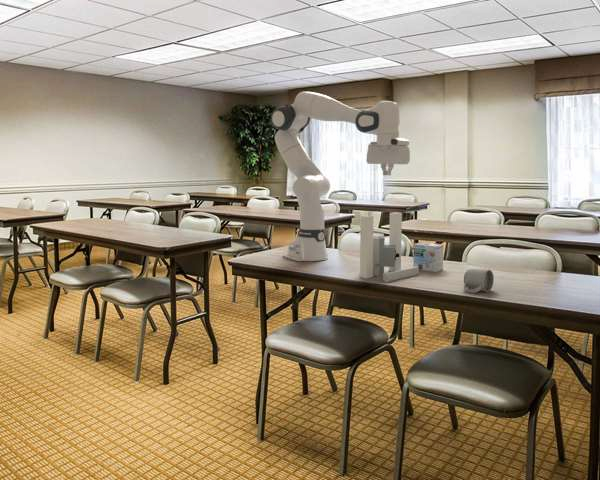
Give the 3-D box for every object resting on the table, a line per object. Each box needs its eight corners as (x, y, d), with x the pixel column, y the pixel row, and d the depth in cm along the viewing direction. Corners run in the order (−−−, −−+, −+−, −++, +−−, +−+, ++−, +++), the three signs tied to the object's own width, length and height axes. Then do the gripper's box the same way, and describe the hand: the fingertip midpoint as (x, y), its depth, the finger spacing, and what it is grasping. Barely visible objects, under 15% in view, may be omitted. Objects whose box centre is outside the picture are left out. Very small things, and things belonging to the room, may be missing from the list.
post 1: (360, 277, 208) (360, 216, 205) (365, 275, 211) (366, 215, 207) (366, 278, 206) (367, 216, 202) (372, 277, 208) (373, 216, 205)
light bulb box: (412, 269, 224) (413, 243, 222) (420, 266, 228) (421, 241, 227) (435, 272, 216) (436, 246, 215) (443, 269, 221) (444, 244, 220)
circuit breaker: (398, 276, 209) (399, 238, 207) (362, 275, 212) (362, 237, 210) (399, 272, 216) (399, 236, 214) (364, 271, 219) (364, 235, 217)
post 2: (388, 270, 220) (389, 212, 217) (394, 269, 223) (394, 212, 219) (395, 271, 218) (396, 213, 214) (400, 270, 220) (401, 212, 217)
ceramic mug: (471, 286, 192) (472, 265, 191) (493, 289, 186) (494, 268, 185) (457, 292, 184) (458, 270, 183) (480, 295, 179) (481, 273, 177)
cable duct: (382, 281, 201) (383, 273, 200) (414, 273, 214) (414, 266, 214) (387, 281, 199) (387, 274, 199) (418, 274, 213) (418, 266, 212)
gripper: (363, 141, 223) (362, 174, 225) (402, 140, 208) (401, 176, 210) (373, 142, 227) (372, 174, 229) (412, 141, 212) (411, 175, 214)
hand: (386, 175), depth 220 cm, fingers closed
